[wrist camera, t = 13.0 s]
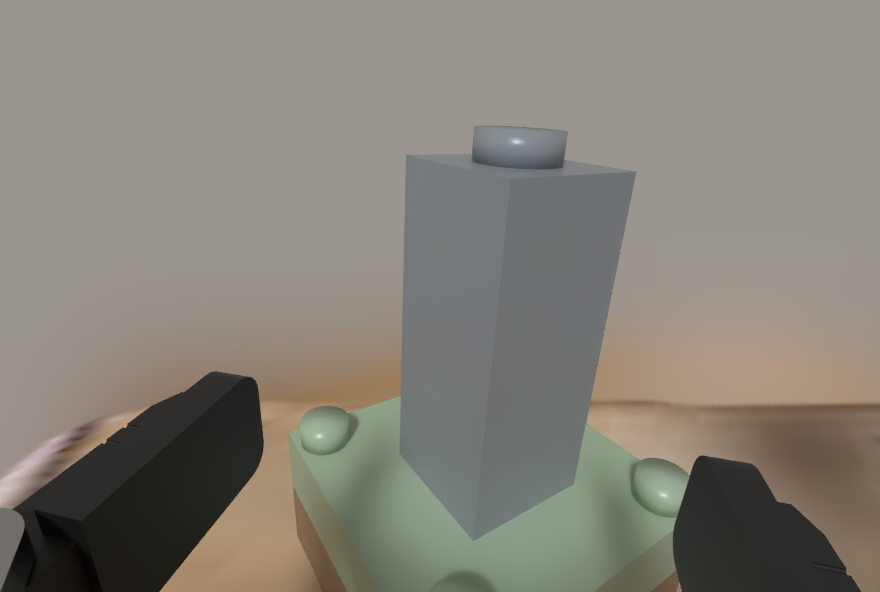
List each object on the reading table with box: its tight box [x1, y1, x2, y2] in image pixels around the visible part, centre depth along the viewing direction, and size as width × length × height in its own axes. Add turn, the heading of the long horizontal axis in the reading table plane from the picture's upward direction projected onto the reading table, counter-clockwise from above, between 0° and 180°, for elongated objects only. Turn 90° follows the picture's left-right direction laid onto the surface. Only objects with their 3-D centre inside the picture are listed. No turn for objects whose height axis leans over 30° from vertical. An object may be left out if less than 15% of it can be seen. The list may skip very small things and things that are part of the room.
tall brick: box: [400, 126, 636, 541], centre depth 17 cm, size 5×5×13 cm
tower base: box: [289, 396, 690, 592], centre depth 20 cm, size 12×12×7 cm
